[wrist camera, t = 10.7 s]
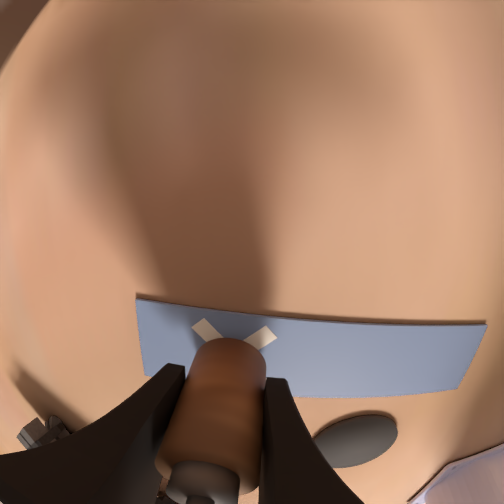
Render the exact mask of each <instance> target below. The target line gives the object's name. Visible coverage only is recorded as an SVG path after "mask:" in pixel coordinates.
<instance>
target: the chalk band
mask: <svg viewBox="0 0 504 504" xmlns="http://www.w3.org/2000/svg"><path fill="white" fill-rule="evenodd" d="M135 301H136V312H137V321H138V330H139V338H140V346H141V353H142V360H143V367H144V373H145V375H146V376H151V377H153V376H154V375H155V374H156V373H157V372H158V371H159V370H160V369H161V368H162V367H163V366H164V365H166V364H167V363H172V364H178V365H183V366H185V374H186V377H187V375H188V372H189V370H190V367H191V365H192V362H193V359H194V357H195V354H196V352H197V350H198V349H199V348H200V347H201V346H202V345H203V344H204V343H206V342H208V341H210V340H213V339H217V338H234V339H239V340H242V341H245V342H247V343H249V344H251V345H252V346H254V347H255V348H256V349H257V350H258V351H259V352H260V353H261V354H262V356H263V357H264V359H265V362H266V377H274V378H285V379H286V380H287V381H288V385H289V388H290V391H291V394H292V397H315V398H364V397H387V396H401V395H413V394H422V393H431V392H439V391H446V390H453V389H457V388H458V386H459V384H460V383H461V381H462V379H463V377H464V375H465V373H466V371H467V369H468V367H469V365H470V363H471V361H472V359H473V357H474V355H475V353H476V351H477V349H478V347H479V345H480V342H481V340H482V338H483V336H484V333H485V331H486V328H487V326H488V325H487V324H464V325H414V324H378V323H356V322H339V321H324V320H310V319H298V318H286V317H276V316H266V315H256V314H247V313H238V312H230V311H221V310H214V309H206V308H199V307H191V306H184V305H178V304H171V303H165V302H158V301H152V300H146V299H140V298H136V299H135Z"/></svg>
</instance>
